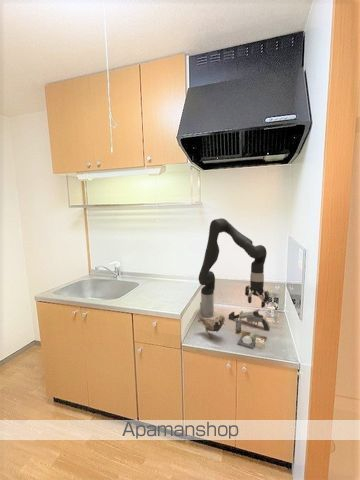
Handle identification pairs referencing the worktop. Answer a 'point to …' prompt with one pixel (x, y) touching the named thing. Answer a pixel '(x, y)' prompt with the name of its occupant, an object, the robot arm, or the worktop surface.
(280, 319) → the worktop surface
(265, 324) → the gun
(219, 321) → the stuffed bird
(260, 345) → the die
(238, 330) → the pawn
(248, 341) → the dome
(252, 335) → the track
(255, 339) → the popper base
